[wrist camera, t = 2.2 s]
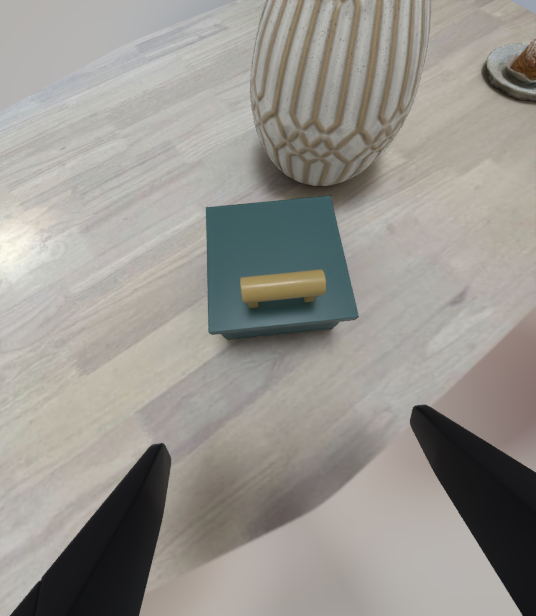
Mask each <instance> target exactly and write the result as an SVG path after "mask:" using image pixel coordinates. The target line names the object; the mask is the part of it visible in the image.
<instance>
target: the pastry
mask: <svg viewBox="0 0 536 616" xmlns="http://www.w3.org/2000/svg"><path fill="white" fill-rule="evenodd" d="M487 68H488V69H487V70H488V72H487V73H486V74H487V75H488V77H489V81H490V84H491V85H493V86H494V87H496V88H499V89H501V91H503V92H505V93H506V94H507V95H508V96H511V97H513V98H515V99H520V100H530V101H533V100H534V101H536V39H535V40H534V41H532V42H531V43H530V44H526V43H520V44H508V45H505V46H501V47H499V48H497V49H495V50H494V51H492V52H491V54H490V55H489V57H488V59H487Z"/></svg>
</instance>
